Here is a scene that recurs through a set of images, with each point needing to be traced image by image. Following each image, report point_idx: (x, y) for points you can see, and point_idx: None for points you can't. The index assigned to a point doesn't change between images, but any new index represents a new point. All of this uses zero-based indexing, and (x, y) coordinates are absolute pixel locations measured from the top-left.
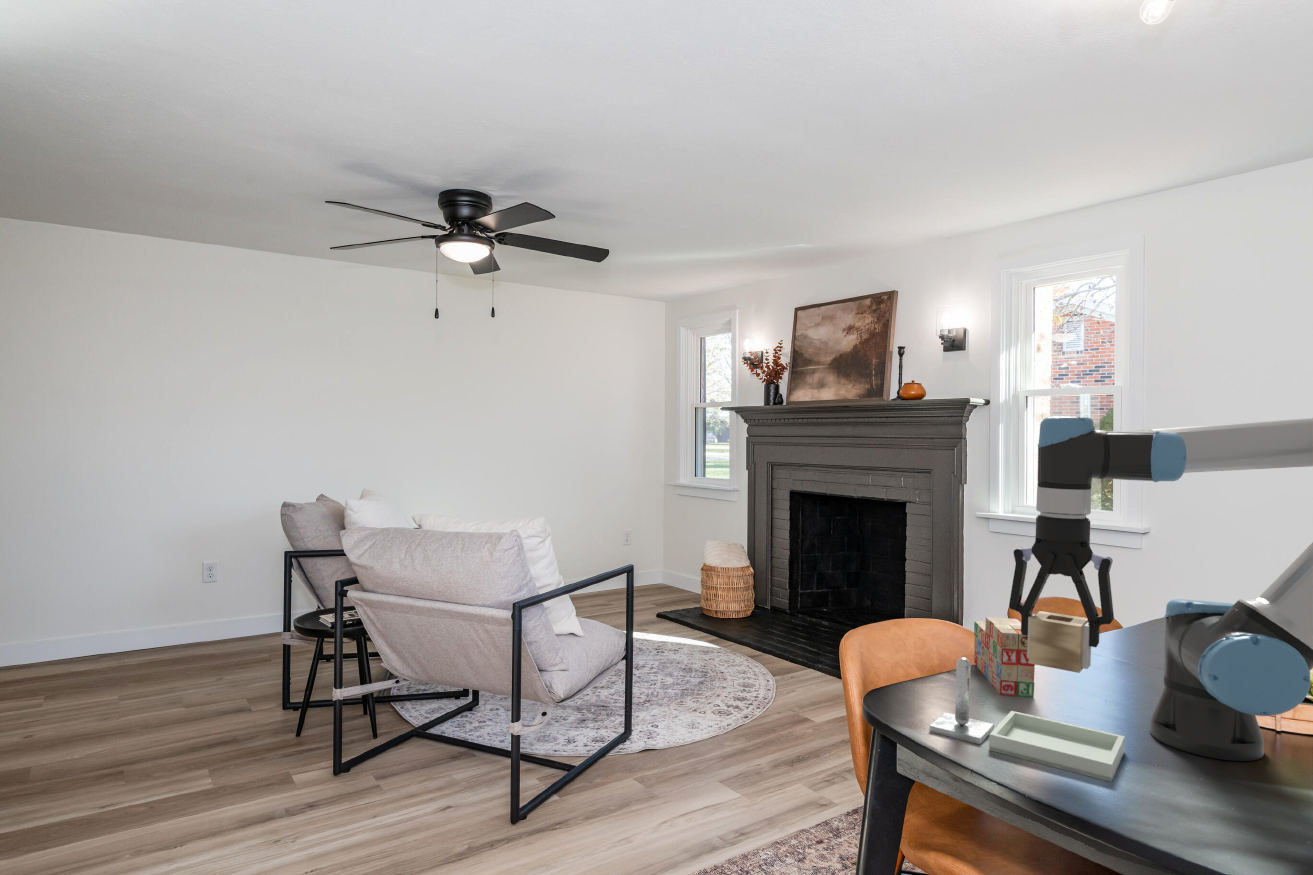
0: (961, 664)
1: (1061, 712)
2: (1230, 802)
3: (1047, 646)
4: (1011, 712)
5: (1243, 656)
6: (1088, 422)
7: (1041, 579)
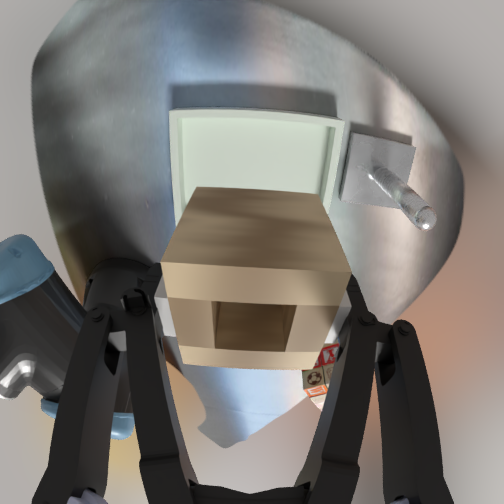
0: (429, 207)
1: None
2: (75, 150)
3: (277, 215)
4: None
5: None
6: None
7: (335, 453)
